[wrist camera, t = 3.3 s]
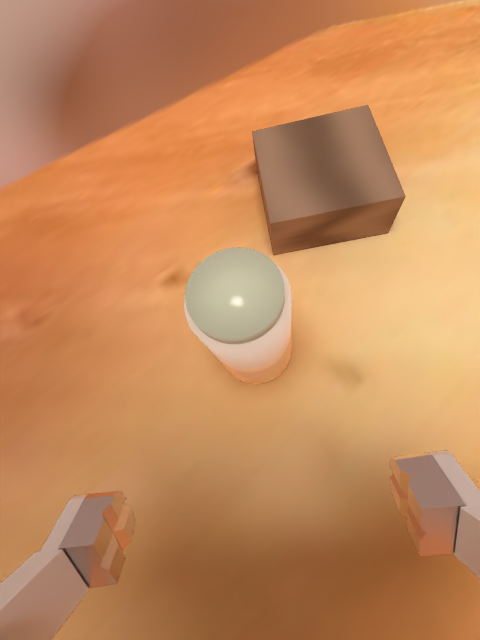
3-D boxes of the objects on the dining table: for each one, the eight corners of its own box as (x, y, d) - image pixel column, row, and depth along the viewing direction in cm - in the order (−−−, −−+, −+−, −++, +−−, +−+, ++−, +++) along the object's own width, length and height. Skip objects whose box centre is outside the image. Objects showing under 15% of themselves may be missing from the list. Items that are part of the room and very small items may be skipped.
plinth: (273, 255, 25) (270, 223, 22) (257, 171, 29) (252, 131, 25) (388, 232, 24) (405, 196, 21) (357, 149, 28) (368, 104, 24)
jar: (226, 389, 22) (181, 354, 13) (219, 323, 24) (175, 253, 15) (297, 378, 22) (302, 334, 13) (284, 311, 24) (280, 232, 14)
